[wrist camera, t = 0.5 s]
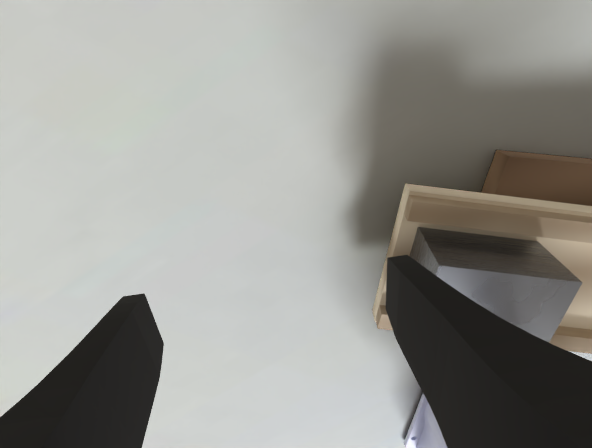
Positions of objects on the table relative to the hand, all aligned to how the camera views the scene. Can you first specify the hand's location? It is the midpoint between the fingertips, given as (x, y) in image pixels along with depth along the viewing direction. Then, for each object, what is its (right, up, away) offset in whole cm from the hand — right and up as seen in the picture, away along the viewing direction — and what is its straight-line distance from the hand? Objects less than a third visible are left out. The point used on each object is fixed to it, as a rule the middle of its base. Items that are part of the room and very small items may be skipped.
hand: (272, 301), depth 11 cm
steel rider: (+9, 0, +8) cm, 13 cm away
